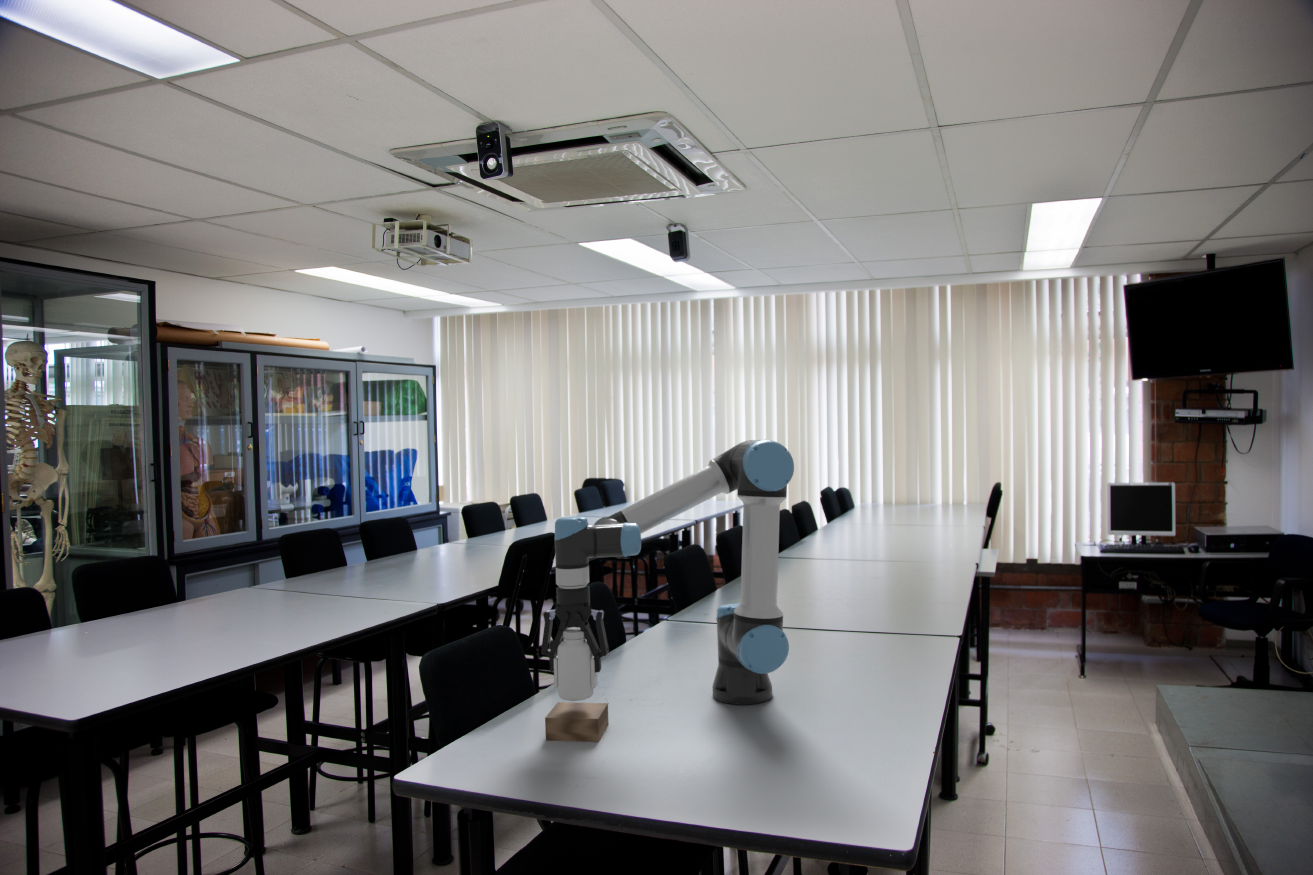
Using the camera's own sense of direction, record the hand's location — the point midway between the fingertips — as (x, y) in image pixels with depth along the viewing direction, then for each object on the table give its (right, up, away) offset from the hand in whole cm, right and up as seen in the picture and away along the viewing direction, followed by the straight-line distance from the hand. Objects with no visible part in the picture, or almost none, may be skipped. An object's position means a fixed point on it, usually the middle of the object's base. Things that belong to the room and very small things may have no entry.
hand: (576, 685), depth 172 cm
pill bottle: (0, -2, 0) cm, 2 cm away
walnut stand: (0, -11, 0) cm, 11 cm away
